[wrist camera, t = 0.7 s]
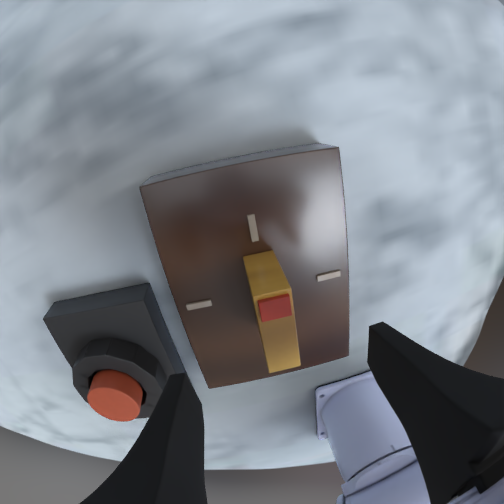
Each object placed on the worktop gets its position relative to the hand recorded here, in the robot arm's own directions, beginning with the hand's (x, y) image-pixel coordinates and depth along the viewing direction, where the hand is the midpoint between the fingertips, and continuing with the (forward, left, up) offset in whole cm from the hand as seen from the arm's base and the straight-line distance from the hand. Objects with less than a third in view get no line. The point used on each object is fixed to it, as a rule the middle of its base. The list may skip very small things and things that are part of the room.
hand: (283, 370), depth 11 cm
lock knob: (0, 0, -6) cm, 6 cm away
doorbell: (-5, +11, -9) cm, 15 cm away
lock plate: (0, 0, -9) cm, 9 cm away
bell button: (-5, +11, -6) cm, 13 cm away
